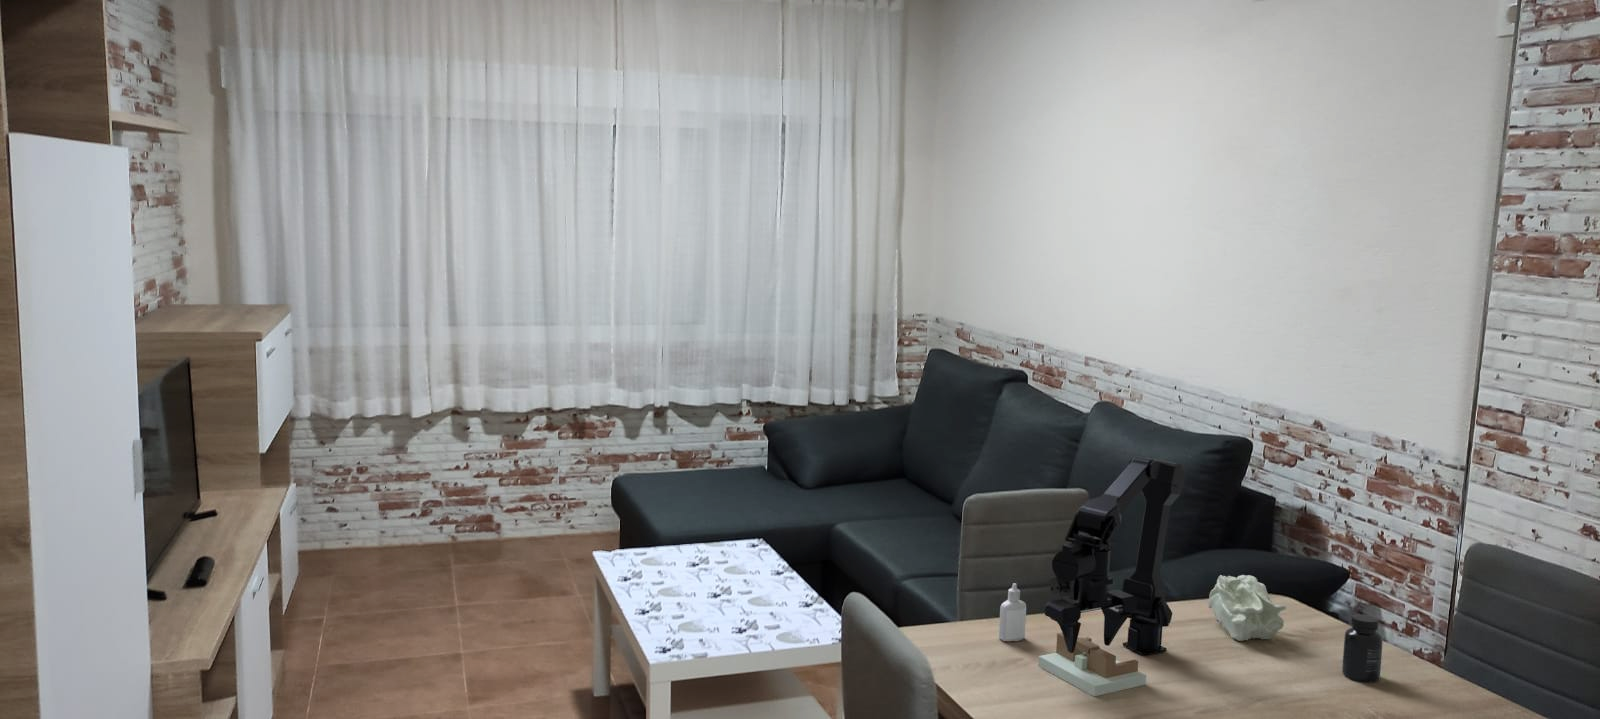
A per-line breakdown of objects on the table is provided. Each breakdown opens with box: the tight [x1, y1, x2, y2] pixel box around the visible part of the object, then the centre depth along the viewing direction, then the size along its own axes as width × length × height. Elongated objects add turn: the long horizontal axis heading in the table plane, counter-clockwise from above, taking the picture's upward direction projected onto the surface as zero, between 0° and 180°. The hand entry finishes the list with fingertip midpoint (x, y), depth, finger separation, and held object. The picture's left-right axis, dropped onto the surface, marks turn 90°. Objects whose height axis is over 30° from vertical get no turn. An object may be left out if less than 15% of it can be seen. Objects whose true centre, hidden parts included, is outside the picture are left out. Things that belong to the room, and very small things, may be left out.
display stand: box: [1037, 652, 1147, 697], centre depth 226 cm, size 13×16×4 cm
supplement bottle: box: [1341, 614, 1384, 683], centre depth 229 cm, size 7×7×12 cm
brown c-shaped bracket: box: [1055, 632, 1139, 678], centre depth 228 cm, size 8×14×4 cm, turn 28°
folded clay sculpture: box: [1208, 574, 1287, 642], centre depth 252 cm, size 18×13×16 cm
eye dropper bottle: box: [998, 582, 1027, 643], centre depth 244 cm, size 4×6×12 cm
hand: (1088, 648), depth 225 cm, fingers open, 9 cm apart
